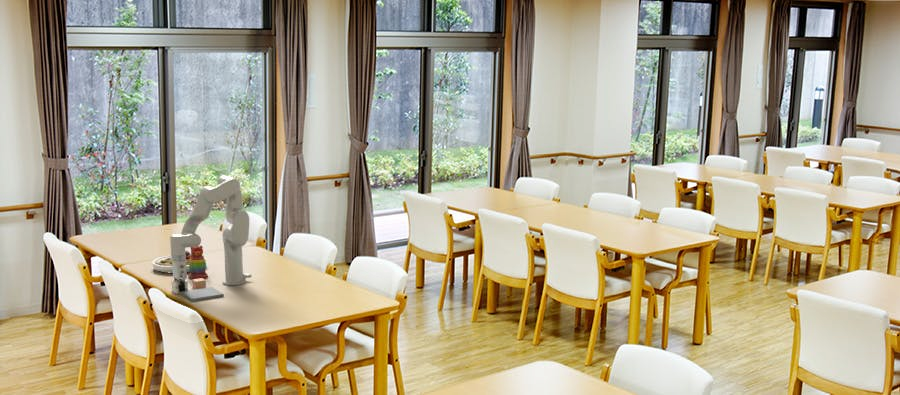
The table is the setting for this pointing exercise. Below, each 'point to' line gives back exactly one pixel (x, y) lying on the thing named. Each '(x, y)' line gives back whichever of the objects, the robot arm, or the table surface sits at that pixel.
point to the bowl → (169, 263)
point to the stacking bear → (197, 263)
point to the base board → (202, 294)
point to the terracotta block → (198, 283)
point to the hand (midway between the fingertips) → (179, 289)
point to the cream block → (176, 286)
